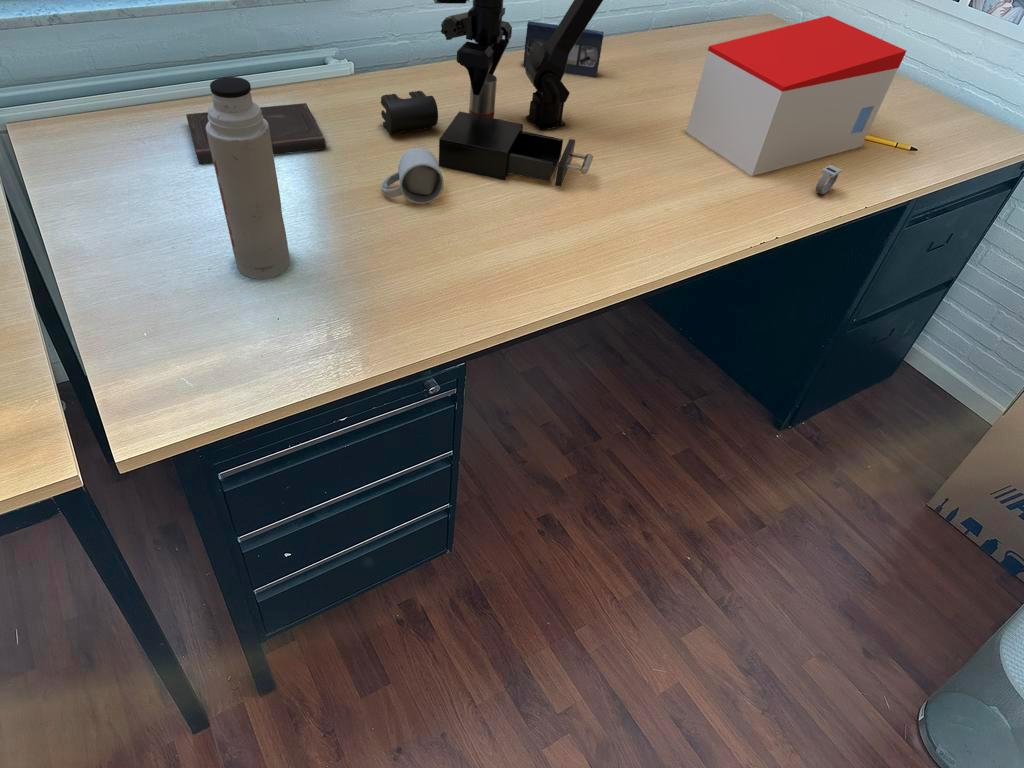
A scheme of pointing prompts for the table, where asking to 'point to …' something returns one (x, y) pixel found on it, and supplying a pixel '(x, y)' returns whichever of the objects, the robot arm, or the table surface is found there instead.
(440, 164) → the cabinet
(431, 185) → the ceramic mug
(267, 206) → the thermos bottle
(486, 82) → the grey metal cylinder
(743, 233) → the table surface
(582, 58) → the vhs cassette tape
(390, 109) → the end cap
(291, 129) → the hardcover book
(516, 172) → the drawer
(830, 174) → the wristwatch
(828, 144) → the bookstore
